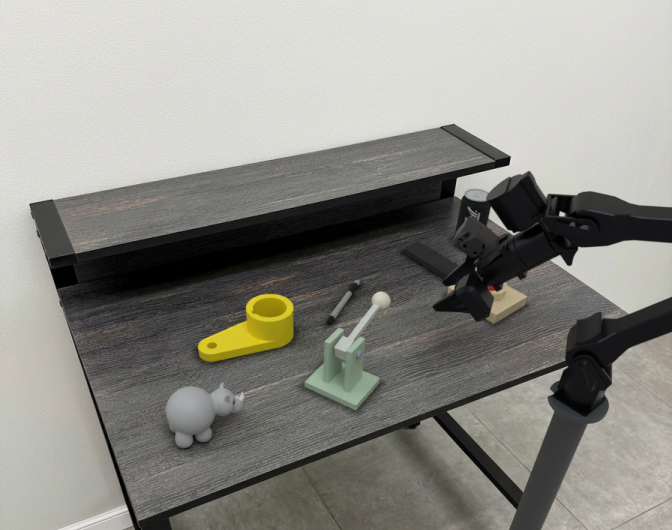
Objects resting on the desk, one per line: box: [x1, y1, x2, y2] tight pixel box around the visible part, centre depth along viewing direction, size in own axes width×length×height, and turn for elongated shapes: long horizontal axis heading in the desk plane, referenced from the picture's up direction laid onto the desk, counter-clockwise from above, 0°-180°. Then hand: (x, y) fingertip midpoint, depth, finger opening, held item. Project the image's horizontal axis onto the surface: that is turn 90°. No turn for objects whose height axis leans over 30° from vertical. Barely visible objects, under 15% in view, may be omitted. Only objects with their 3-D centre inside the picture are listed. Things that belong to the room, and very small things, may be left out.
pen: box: [325, 279, 361, 326], centre depth 123 cm, size 1×16×1 cm, turn 158°
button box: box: [446, 282, 528, 325], centre depth 125 cm, size 12×10×4 cm
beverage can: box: [454, 188, 492, 236], centre depth 139 cm, size 7×7×12 cm
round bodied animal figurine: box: [164, 381, 245, 449], centre depth 94 cm, size 7×12×8 cm, turn 114°
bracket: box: [304, 327, 381, 411], centre depth 103 cm, size 8×10×10 cm
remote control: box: [402, 241, 459, 280], centre depth 135 cm, size 5×2×15 cm
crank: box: [197, 293, 295, 363], centre depth 111 cm, size 18×8×6 cm, turn 121°
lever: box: [334, 291, 391, 362], centre depth 104 cm, size 15×3×3 cm, turn 148°
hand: (438, 295), depth 102 cm, fingers open, 7 cm apart
